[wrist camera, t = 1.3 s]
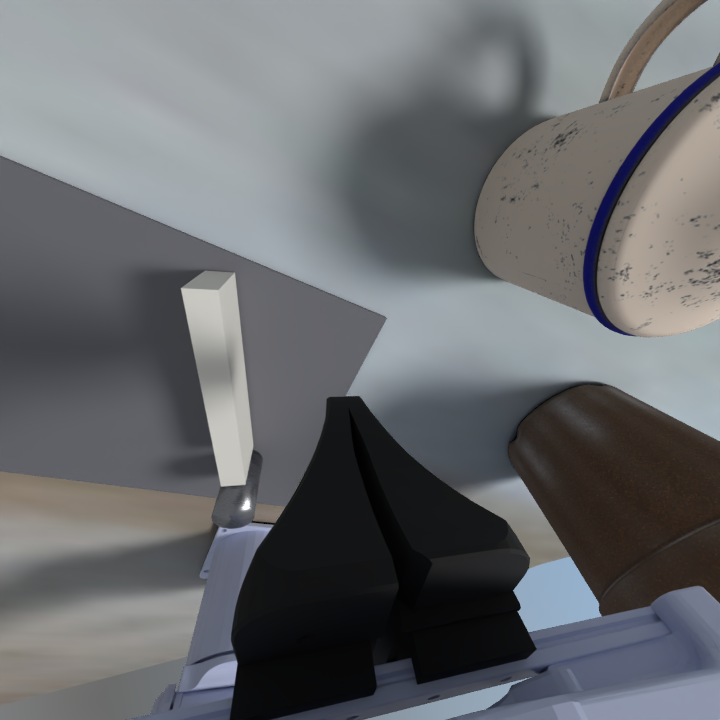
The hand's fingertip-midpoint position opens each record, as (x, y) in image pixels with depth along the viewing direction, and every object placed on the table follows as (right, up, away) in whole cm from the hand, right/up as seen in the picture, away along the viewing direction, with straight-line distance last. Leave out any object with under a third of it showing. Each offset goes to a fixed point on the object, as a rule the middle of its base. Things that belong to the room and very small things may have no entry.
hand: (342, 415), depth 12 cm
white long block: (-7, +1, +7) cm, 10 cm away
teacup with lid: (+12, +13, +5) cm, 18 cm away
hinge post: (-8, -6, +11) cm, 15 cm away
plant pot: (+21, -5, +17) cm, 27 cm away
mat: (-12, 0, +7) cm, 14 cm away
